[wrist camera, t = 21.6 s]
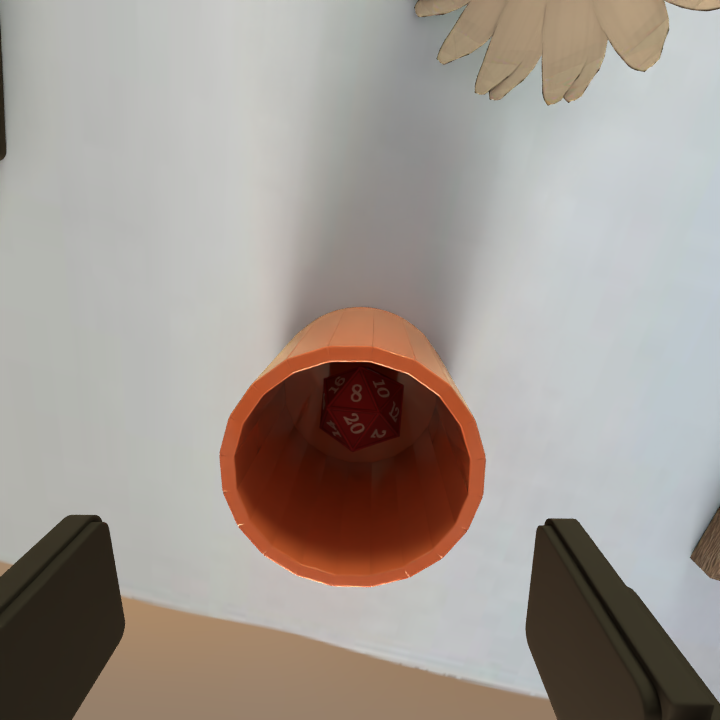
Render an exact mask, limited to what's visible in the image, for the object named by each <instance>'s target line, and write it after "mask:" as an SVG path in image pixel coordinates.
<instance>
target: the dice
mask: <svg viewBox="0 0 720 720" xmlns="http://www.w3.org/2000/svg"><path fill="white" fill-rule="evenodd" d="M403 391H404V385H403V384H401V383H399V382H397V381H395V380H393V379H391V378H389V377H388V376H386V375H384V374H382V373H380V372H378V371H376V370H374V369H372V368H370V367H369V366H358V367H355V368H352V369H350V370H347V371H344V372H341V373H338V374H335V375H332V376H329V377H326V378H324V383H323V394H322V405H321V417H320V426H319V428H320V429H321V430H323V431H324V432H326V433H327V434H328V435H330V436H331V437H332V438H334V439H335V440H337V441H338V442H339V443H341V444H342V445H343V446H345V447H346V448H347V449H349V450H350V451H351V452H355V451H357V450H360V449H363V448H366V447H369V446H372V445H375V444H378V443H381V442H384V441H387V440H390V439H393V438H396V437H400V428H401V415H402V403H403Z"/></svg>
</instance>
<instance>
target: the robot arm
mask: <svg viewBox="0 0 720 720" xmlns="http://www.w3.org/2000/svg"><path fill="white" fill-rule="evenodd" d="M124 628H125V619H124V613H123V607H122V602H121V595H120V590H119V584H118V578H117V572H116V566H115V560H114V555H113V549H112V543H111V537H110V531H109V527H108V525H107V523H105V522H102V520H101V518H100V517H99V516H97V515H69V516H67V517H65V518H64V519H63V520H62V521H61V522H60V523H58V524H57V525H56V526H55V527H54V528H53V529H52V530H51V531H50V532H49V533H48V534H46V535H45V536H44V537H43V538H42V539H41V540H40V541H39V542H38V543H37V544H36V545H35V546H33V547H32V548H31V549H30V550H29V551H28V552H27V553H26V554H25V555H24V556H23V557H22V558H20V559H19V560H18V561H17V562H16V563H15V564H14V565H13V566H12V567H11V568H10V569H8V570H7V571H6V572H5V573H4V574H3V575H2V576H1V577H0V720H72V718H73V717H74V715H75V713H76V712H77V710H78V709H79V707H80V706H81V704H82V702H83V701H84V699H85V697H86V696H87V694H88V693H89V691H90V689H91V688H92V686H93V684H94V683H95V681H96V680H97V678H98V676H99V675H100V673H101V671H102V670H103V668H104V667H105V665H106V663H107V662H108V660H109V658H110V657H111V655H112V654H113V652H114V650H115V649H116V647H117V645H118V644H119V642H120V640H121V638H122V636H123V632H124ZM526 638H527V642H528V646H529V648H530V651H531V654H532V656H533V659H534V661H535V664H536V666H537V669H538V671H539V674H540V676H541V679H542V682H543V684H544V687H545V689H546V692H547V694H548V697H549V699H550V702H551V704H552V707H553V710H554V712H555V714H556V717H557V720H720V703H719V702H718V701H717V699H716V698H715V697H714V695H713V694H712V693H711V691H710V690H709V689H708V687H707V686H706V685H705V683H704V682H703V681H702V679H701V678H700V677H699V676H698V674H697V673H696V672H695V670H694V669H693V668H692V666H691V665H690V664H689V662H688V661H687V660H686V658H685V657H684V656H683V654H682V653H681V652H680V650H679V649H678V648H677V646H676V645H675V644H674V642H673V641H672V640H671V638H670V637H669V636H668V634H667V633H666V632H665V630H664V629H663V628H662V626H661V625H660V624H659V623H658V621H657V620H656V619H655V617H654V616H653V615H652V613H651V612H650V611H649V609H648V608H647V607H646V605H645V604H644V603H643V601H642V600H641V599H640V597H639V596H638V595H637V594H636V593H635V592H634V591H633V590H632V589H631V588H629V587H627V586H626V585H625V584H624V582H623V581H622V580H621V578H620V577H619V576H618V574H617V573H616V571H615V570H614V569H613V567H612V566H611V565H610V563H609V562H608V561H607V559H606V558H605V557H604V555H603V554H602V553H601V551H600V550H599V549H598V547H597V546H596V545H595V543H594V542H593V540H592V539H591V538H590V536H589V535H588V534H587V532H586V531H585V530H584V528H583V527H582V526H581V524H580V523H579V522H578V521H577V520H576V519H547V520H546V522H545V525H544V526H538V528H537V531H536V539H535V548H534V557H533V565H532V574H531V583H530V592H529V600H528V609H527V618H526Z"/></svg>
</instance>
